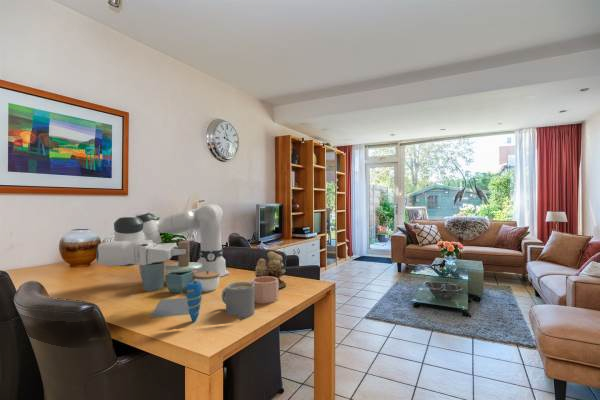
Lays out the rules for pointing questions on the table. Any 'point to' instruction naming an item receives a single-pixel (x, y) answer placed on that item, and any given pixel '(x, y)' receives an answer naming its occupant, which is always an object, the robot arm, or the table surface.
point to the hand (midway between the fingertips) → (186, 250)
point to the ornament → (194, 298)
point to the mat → (171, 308)
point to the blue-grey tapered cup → (152, 276)
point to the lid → (183, 261)
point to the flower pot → (178, 281)
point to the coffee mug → (239, 299)
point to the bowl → (265, 289)
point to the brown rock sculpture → (271, 268)
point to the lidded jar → (208, 280)
